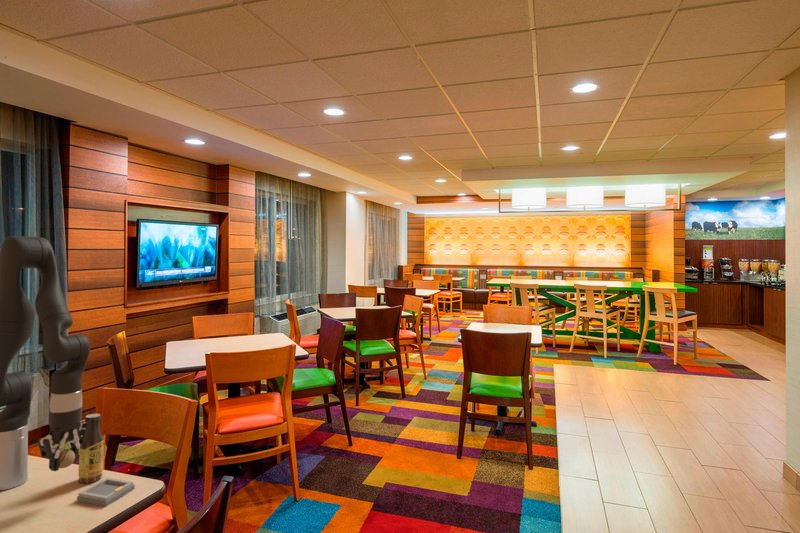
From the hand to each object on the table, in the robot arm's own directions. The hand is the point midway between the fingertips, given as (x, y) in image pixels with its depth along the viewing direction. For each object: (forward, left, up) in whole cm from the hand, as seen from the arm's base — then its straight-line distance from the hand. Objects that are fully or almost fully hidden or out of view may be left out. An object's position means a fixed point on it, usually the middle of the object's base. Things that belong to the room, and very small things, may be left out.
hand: (63, 465), depth 130 cm
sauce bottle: (-4, +12, -10) cm, 16 cm away
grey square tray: (+8, +6, -10) cm, 15 cm away
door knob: (0, 0, -1) cm, 1 cm away
